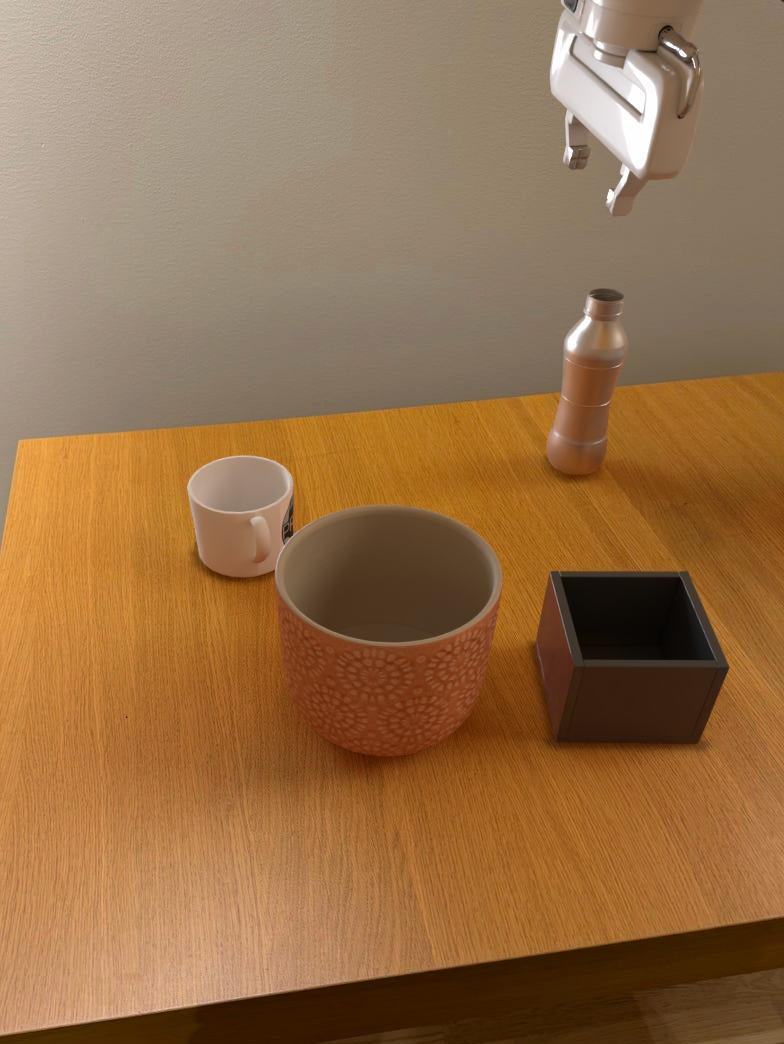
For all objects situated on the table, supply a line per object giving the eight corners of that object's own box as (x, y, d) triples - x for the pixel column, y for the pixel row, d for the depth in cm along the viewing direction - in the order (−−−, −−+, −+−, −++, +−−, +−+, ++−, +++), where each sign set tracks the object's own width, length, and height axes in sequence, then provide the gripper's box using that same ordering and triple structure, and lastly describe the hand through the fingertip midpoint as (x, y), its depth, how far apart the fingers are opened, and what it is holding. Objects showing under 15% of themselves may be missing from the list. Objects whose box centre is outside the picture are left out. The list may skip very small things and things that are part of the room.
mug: (185, 531, 98) (176, 466, 93) (279, 511, 101) (276, 447, 95) (216, 608, 89) (208, 541, 84) (318, 585, 91) (317, 518, 86)
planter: (443, 627, 86) (458, 490, 76) (511, 764, 74) (540, 624, 64) (266, 656, 84) (256, 520, 74) (306, 803, 72) (300, 664, 61)
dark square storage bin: (663, 646, 84) (688, 570, 78) (698, 743, 75) (729, 667, 69) (534, 646, 84) (549, 570, 78) (555, 742, 76) (574, 666, 70)
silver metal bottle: (584, 489, 102) (621, 314, 89) (531, 467, 106) (560, 296, 92) (612, 465, 106) (653, 293, 92) (561, 445, 109) (593, 277, 96)
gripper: (746, 52, 66) (680, 240, 77) (624, -30, 79) (582, 141, 89) (666, 55, 65) (610, 246, 76) (555, -28, 78) (521, 145, 88)
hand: (594, 188), depth 83 cm, fingers open, 8 cm apart
